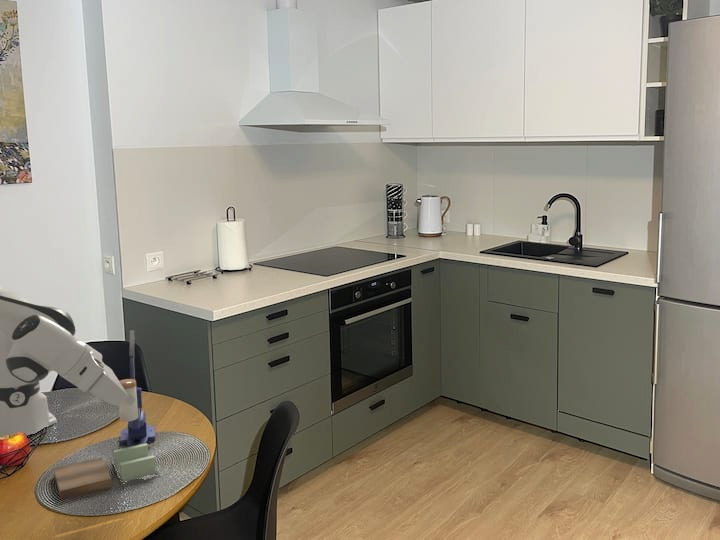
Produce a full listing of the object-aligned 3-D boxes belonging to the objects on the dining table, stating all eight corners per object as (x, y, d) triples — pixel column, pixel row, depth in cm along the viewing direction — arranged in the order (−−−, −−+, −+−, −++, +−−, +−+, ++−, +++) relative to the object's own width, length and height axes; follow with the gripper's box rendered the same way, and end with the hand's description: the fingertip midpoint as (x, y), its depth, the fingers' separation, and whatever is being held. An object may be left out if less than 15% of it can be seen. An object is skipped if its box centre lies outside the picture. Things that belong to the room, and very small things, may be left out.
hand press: (155, 453, 176) (148, 349, 170) (119, 457, 173) (111, 352, 168) (155, 423, 193) (148, 328, 188) (122, 427, 191) (115, 331, 185)
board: (54, 477, 163) (53, 468, 163) (102, 466, 169) (102, 457, 168) (61, 501, 153) (60, 491, 153) (112, 488, 159) (111, 478, 158)
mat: (110, 462, 171) (110, 461, 170) (147, 454, 175) (147, 453, 175) (122, 488, 159) (122, 486, 159) (161, 478, 163) (161, 476, 163)
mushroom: (117, 416, 164) (114, 381, 162) (136, 412, 166) (133, 377, 164) (121, 423, 160) (118, 387, 158) (140, 419, 162) (137, 383, 160)
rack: (114, 464, 169) (112, 449, 168) (146, 456, 173) (145, 442, 172) (122, 482, 161) (121, 466, 160) (156, 473, 164) (155, 458, 164)
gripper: (67, 363, 164) (112, 394, 171) (80, 391, 146) (130, 424, 153) (85, 343, 165) (129, 374, 172) (100, 368, 148) (149, 401, 154)
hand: (130, 398), depth 162 cm, fingers closed on mushroom, 4 cm apart
